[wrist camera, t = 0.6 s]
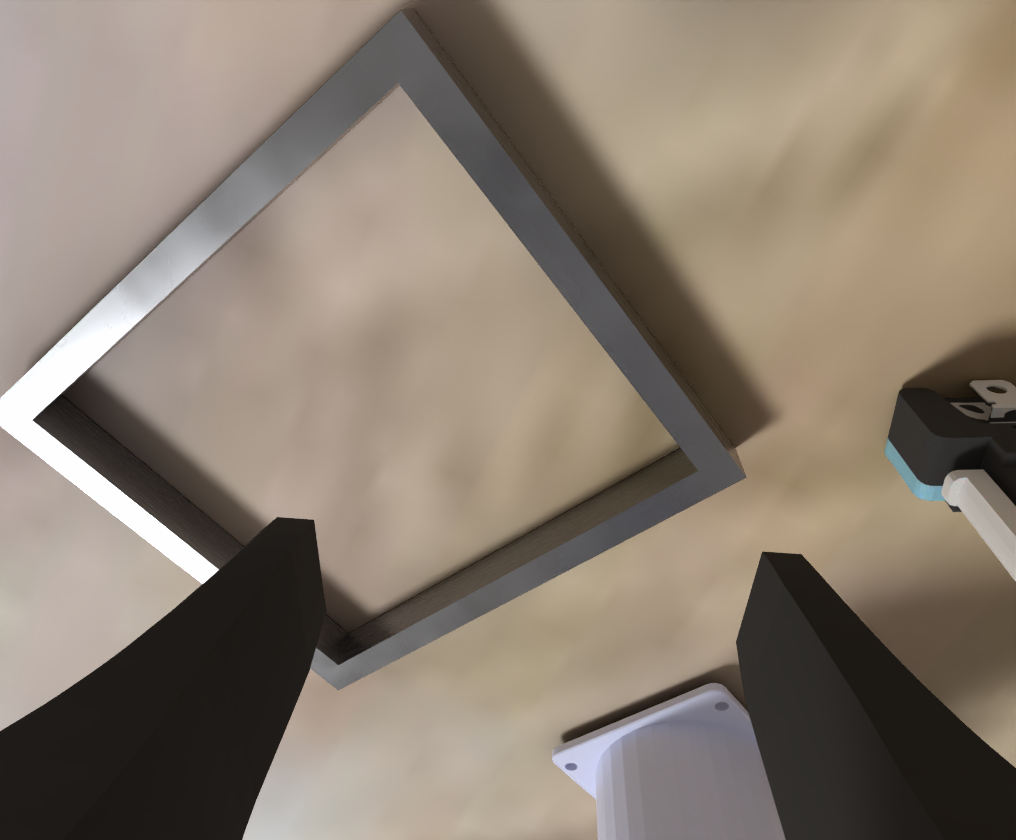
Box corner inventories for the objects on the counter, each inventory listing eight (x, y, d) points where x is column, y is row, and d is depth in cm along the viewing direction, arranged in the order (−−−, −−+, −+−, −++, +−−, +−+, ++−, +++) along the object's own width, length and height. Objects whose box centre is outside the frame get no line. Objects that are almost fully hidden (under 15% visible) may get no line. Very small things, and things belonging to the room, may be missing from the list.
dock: (735, 449, 22) (746, 477, 21) (348, 658, 28) (338, 690, 27) (413, 8, 16) (400, 10, 15) (17, 389, 23) (-16, 413, 21)
